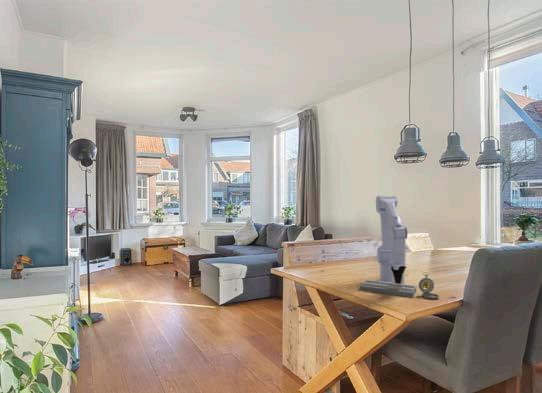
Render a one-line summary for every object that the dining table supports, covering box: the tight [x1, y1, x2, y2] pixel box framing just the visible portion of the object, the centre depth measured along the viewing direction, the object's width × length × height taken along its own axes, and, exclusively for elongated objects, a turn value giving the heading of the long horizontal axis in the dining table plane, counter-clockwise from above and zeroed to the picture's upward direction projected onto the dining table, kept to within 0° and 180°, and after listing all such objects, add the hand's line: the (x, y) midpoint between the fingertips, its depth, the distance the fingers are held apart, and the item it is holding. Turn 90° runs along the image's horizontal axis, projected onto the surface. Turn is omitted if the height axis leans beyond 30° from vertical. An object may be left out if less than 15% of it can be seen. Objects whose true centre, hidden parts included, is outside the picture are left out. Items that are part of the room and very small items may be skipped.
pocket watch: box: [418, 272, 440, 300], centre depth 148 cm, size 8×8×10 cm
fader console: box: [359, 279, 417, 298], centre depth 158 cm, size 12×23×3 cm, turn 60°
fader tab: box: [392, 273, 406, 287], centre depth 156 cm, size 4×5×6 cm
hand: (398, 282), depth 156 cm, fingers closed on fader tab, 2 cm apart
